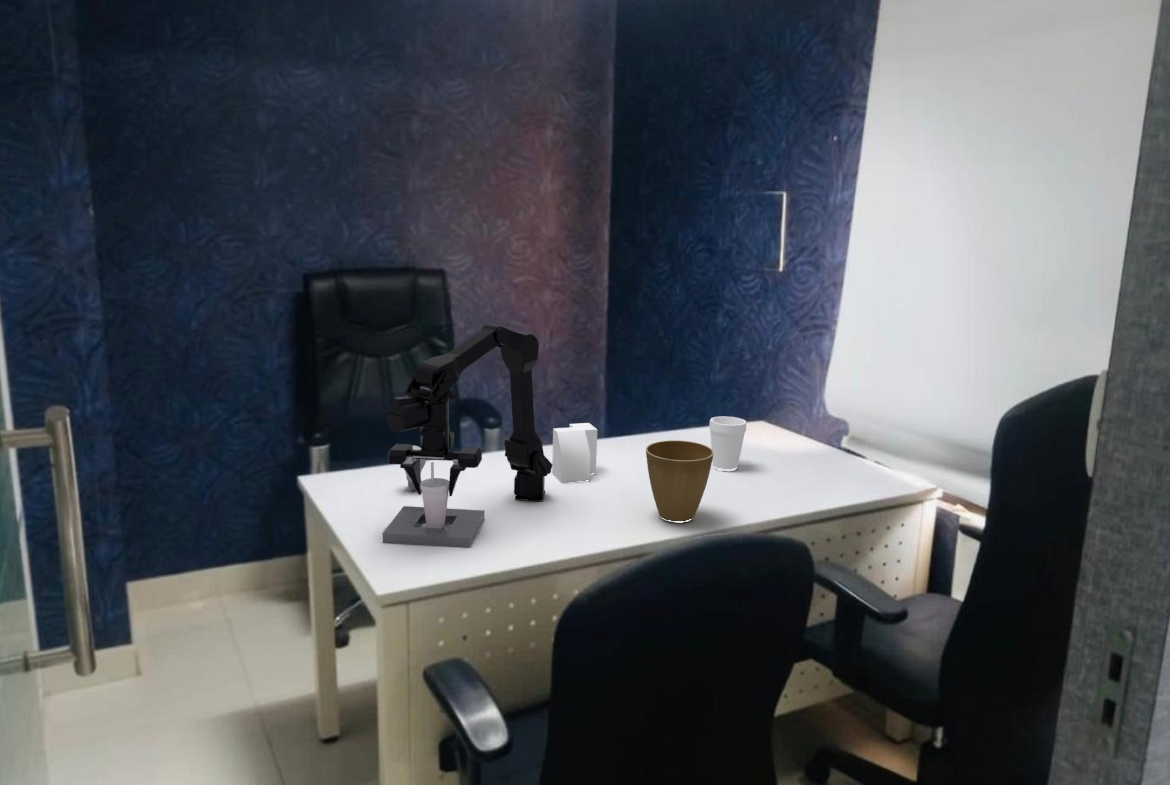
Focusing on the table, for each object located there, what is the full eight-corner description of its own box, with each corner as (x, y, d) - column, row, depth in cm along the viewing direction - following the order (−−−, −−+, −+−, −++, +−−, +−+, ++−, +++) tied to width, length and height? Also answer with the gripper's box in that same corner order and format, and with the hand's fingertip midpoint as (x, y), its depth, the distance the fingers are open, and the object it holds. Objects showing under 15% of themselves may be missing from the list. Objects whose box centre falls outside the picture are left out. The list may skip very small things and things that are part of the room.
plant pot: (641, 505, 208) (644, 439, 205) (705, 507, 208) (710, 441, 204) (643, 529, 194) (647, 458, 190) (712, 531, 194) (717, 460, 190)
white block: (587, 466, 236) (589, 422, 233) (601, 480, 225) (603, 434, 223) (548, 469, 232) (549, 425, 230) (561, 483, 222) (562, 436, 219)
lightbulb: (421, 495, 210) (420, 450, 208) (396, 493, 211) (395, 448, 209) (430, 487, 216) (430, 443, 214) (406, 485, 217) (405, 441, 215)
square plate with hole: (484, 519, 197) (484, 510, 196) (470, 547, 181) (470, 538, 181) (403, 514, 198) (403, 506, 198) (382, 542, 182) (382, 533, 182)
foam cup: (748, 467, 239) (751, 420, 236) (734, 476, 232) (738, 427, 229) (715, 460, 244) (718, 414, 241) (701, 469, 237) (704, 421, 234)
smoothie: (421, 520, 192) (420, 458, 189) (451, 520, 193) (451, 458, 190) (418, 532, 186) (417, 467, 183) (450, 531, 187) (449, 467, 184)
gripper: (486, 415, 192) (486, 484, 195) (400, 411, 193) (402, 480, 196) (476, 428, 181) (476, 502, 184) (385, 424, 182) (387, 497, 186)
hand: (435, 494), depth 188 cm, fingers closed on smoothie, 6 cm apart
